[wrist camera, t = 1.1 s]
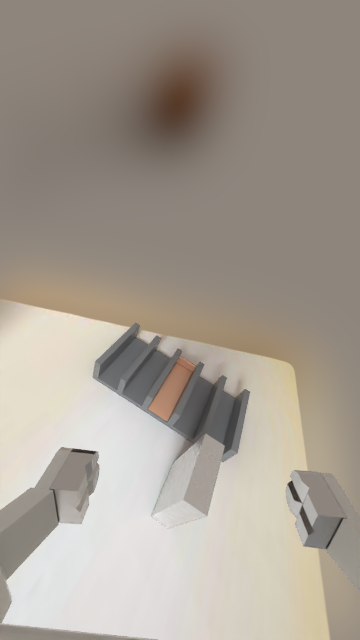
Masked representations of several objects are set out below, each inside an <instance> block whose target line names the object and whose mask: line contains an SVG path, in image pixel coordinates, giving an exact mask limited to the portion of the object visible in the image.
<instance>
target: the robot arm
mask: <svg viewBox="0 0 360 640" xmlns="http://www.w3.org/2000/svg"><path fill="white" fill-rule="evenodd" d="M98 458H99V455H98V452H97V451H89V450H81V449H73V448H64V447H61V448H60V449H59V450H58V451H57V453H56V455H55V456H54V458H53V459H52V461H51V463H50V464H49V466H48V467H47V469H46V471H45V472H44V474H43V475H42V477H41V478H40V480H39V482H38V483H37V485H36V486H35V488H30V489H28V490H27V491H26V492H24V493H23V494H22V495H20V496H19V497H18V498H16V499H15V500H13V501H12V502H11V503H9V504H8V505H7V506H5V507H4V508H3V509H1V510H0V640H156V639H146V638H137V637H127V636H117V635H108V634H98V633H88V632H78V631H69V630H59V629H49V628H40V627H30V626H20V625H10V624H1V623H2V621H3V619H4V617H5V615H6V613H7V611H8V609H9V607H10V604H11V602H12V599H11V594H10V591H9V588H8V585H7V582H6V580H7V579H8V578H9V577H10V576H11V575H12V574H13V573H14V571H15V570H16V569H17V568H18V567H19V566H20V565H21V564H22V563H23V562H24V561H25V560H26V559H27V558H28V556H29V555H30V554H31V553H32V552H33V551H34V550H35V549H36V548H37V547H38V546H39V545H40V544H41V543H42V541H43V540H44V539H45V538H46V537H47V536H48V535H49V534H50V533H51V532H52V531H53V530H54V529H55V528H56V527H57V525H58V523H72V524H82V521H83V519H84V516H85V513H86V511H87V508H88V506H89V496H90V495H91V494H92V493H93V492H94V490H95V487H96V484H97V480H98V476H99V464H98V463H97V460H98ZM290 477H291V479H292V481H290V482H289V483H288V484H287V487H286V499H287V504H288V507H289V509H290V511H291V513H292V514H293V515H294V516H295V517H296V523H295V525H296V528H297V531H298V533H299V536H300V539H301V541H302V544H303V546H305V547H313V548H321V549H327V552H328V553H329V555H330V556H331V557H332V558H333V560H334V561H335V562H336V563H337V565H338V566H339V567H340V568H341V570H342V571H343V572H344V573H345V575H346V576H347V577H348V579H349V580H350V581H351V582H352V584H353V585H354V586H355V587H356V588H357V590H358V591H359V592H360V517H359V515H358V513H357V512H356V510H355V508H354V507H353V505H352V504H351V502H350V501H349V499H348V497H347V496H346V494H345V492H344V491H343V489H342V488H341V486H340V484H339V483H338V481H337V479H336V478H335V477H334V476H333V475H332V474H330V473H318V472H311V471H299V470H294V471H292V473H291V475H290Z"/></svg>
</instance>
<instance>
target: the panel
mask: <svg viewBox="0 0 360 640" xmlns="http://www.w3.org/2000/svg"><path fill="white" fill-rule="evenodd" d="M224 447H225V446H224V445H223V444H221V443H220V442H218V441H217V440H215V439H213V438H212V437H210V436H209V435H207V434H204V435H203V436H202V437H201V438H200V439H199V440H198V441H197V442H196V443H194V444H193V445H192V446H191V447H190V448H189V449H188V450H187V451H186V452H185V453H183V454H182V455H181V456H180V457H179V458H178V459H177V460H176V461H175V462H173V464H172V467H171V469H170V472H169V474H168V477H167V479H166V481H165V484H164V486H163V489H162V491H161V493H160V496H159V498H158V501H157V503H156V505H155V508H154V510H153V513H152V515H151V517H152V518H154V519H155V520H157V521H158V522H159V523H161V524H162V525H164V526H165V527H166V528H172V527H175V526H178V525H181V524H184V523H187V522H190V521H194V520H197V519H200V518H203V517H206V516H207V515H208V511H209V507H210V503H211V499H212V495H213V491H214V487H215V483H216V479H217V475H218V471H219V467H220V463H221V459H222V455H223V451H224Z"/></svg>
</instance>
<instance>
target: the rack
mask: <svg viewBox="0 0 360 640" xmlns="http://www.w3.org/2000/svg"><path fill="white" fill-rule="evenodd" d="M139 327H140V325H139V324H137V323H135V324H134V325H133V326H132V327H131V328H130V329H129V330H128V331H127V332H126V333H125V334H124V335H123V336H122V337H120V338H119V339H118V340H117V341H116V342H115V343H114V344H113V345H112V346H111V347H110V348H109V349H108V350H107V351H106V352H105V353H104V354H103V355H102V356H101V357H100V358H99V359H98V360H97V361H96V362H95V366H94V372H93V378H94V379H96V380H97V381H99V382H100V383H102V384H104V385H105V386H107V387H108V388H110V389H111V390H113V391H114V392H116V393H117V394H119V395H121V396H122V397H124V398H125V399H127V400H128V401H130V402H131V403H133V404H134V405H136V406H137V407H139V408H141V409H142V410H144V411H145V412H147V413H148V414H150V415H151V416H153V417H154V418H156V419H157V420H159V421H161V422H162V423H164V424H165V425H167V426H168V427H170V428H171V429H173V430H174V431H176V432H177V433H179V434H181V435H182V436H184V437H185V438H187V439H188V440H190V441H191V442H193V443H196V442H197V441H198V440H199V439H200V438H201V437H202V436H203V435H204V434H207V435H209V436H210V437H212V438H213V439H215V440H217V441H218V442H220V443H221V444H223V445H224V446H225V447H224V451H223V455H222V459H221V461H222V462H224V461H226V460H227V459H229V458H230V457H232V456H234V455H235V454H237V453H238V448H239V443H240V438H241V433H242V428H243V423H244V418H245V413H246V409H247V404H248V399H249V394H250V392H249V391H248V390H246V389H244V390H243V391H242V392H241V393H240V394H239V395H238V396H237V397H236V398H234V397H232V396H230V395H229V394H227V393H226V392H224V391H223V388H224V385H225V382H226V379H227V378H226V377H225V376H223V375H222V376H221V377H220V378H219V379H218V381H217V382H216V383H215V384H214V385H212V384H211V383H209V382H208V381H206V380H204V379H203V378H201V377H199V375H200V373H201V371H202V368H203V366H204V364H203V363H201V362H199V363H198V365H197V366H196V365H194V364H193V363H191V362H189V361H188V360H186V359H184V358H183V357H181V356H180V355H181V353H182V350H180V349H177V351H176V352H175V354H174V355H173V357H172V358H171V359H170V358H168V357H167V356H165V355H163V354H162V353H160V352H159V351H157V350H156V348H157V346H158V344H159V342H160V339H161V338H160V337H158V336H156V337H155V338H154V339H153V340H152V342H151V343H150V344H149V345H147V344H146V343H144V342H142V341H141V340H139V339H137V338H136V336H137V333H138V330H139ZM179 356H180V357H179ZM178 358H179V359H178ZM177 360H178V361H177ZM195 367H196V368H195ZM193 370H194V371H193Z"/></svg>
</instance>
